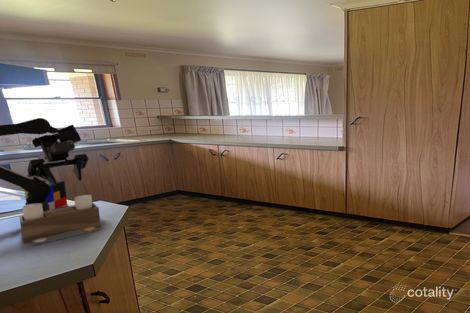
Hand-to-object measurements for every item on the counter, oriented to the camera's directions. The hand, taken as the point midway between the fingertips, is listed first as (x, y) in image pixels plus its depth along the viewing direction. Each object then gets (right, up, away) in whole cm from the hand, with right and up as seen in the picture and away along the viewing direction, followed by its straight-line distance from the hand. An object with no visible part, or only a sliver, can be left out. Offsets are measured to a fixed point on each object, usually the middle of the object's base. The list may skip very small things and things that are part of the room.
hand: (68, 182), depth 107 cm
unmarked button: (-4, -12, -12) cm, 18 cm away
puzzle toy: (-20, -12, +21) cm, 31 cm away
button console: (+2, -15, -8) cm, 17 cm away
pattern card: (+6, -15, -13) cm, 21 cm away
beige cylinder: (+8, -10, -4) cm, 14 cm away
